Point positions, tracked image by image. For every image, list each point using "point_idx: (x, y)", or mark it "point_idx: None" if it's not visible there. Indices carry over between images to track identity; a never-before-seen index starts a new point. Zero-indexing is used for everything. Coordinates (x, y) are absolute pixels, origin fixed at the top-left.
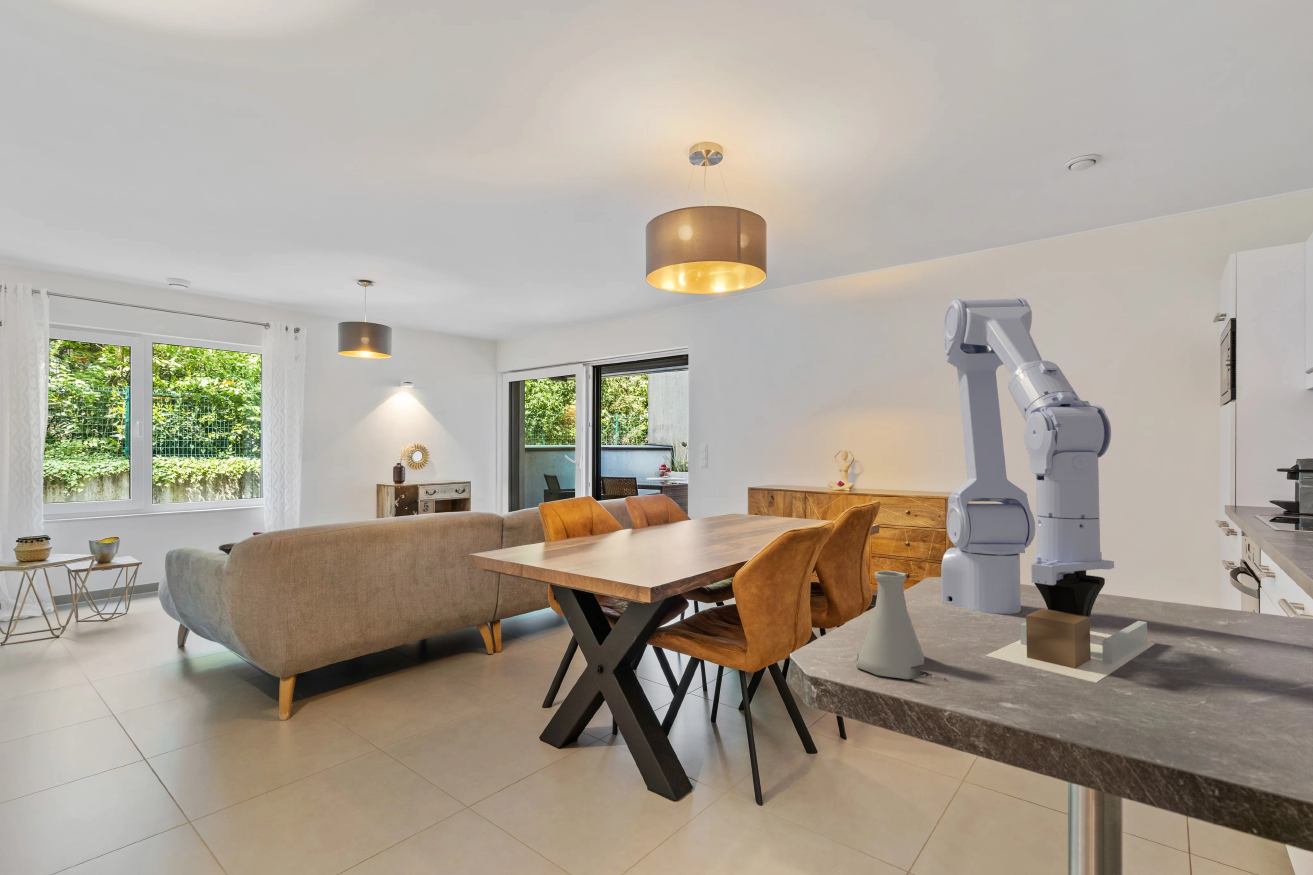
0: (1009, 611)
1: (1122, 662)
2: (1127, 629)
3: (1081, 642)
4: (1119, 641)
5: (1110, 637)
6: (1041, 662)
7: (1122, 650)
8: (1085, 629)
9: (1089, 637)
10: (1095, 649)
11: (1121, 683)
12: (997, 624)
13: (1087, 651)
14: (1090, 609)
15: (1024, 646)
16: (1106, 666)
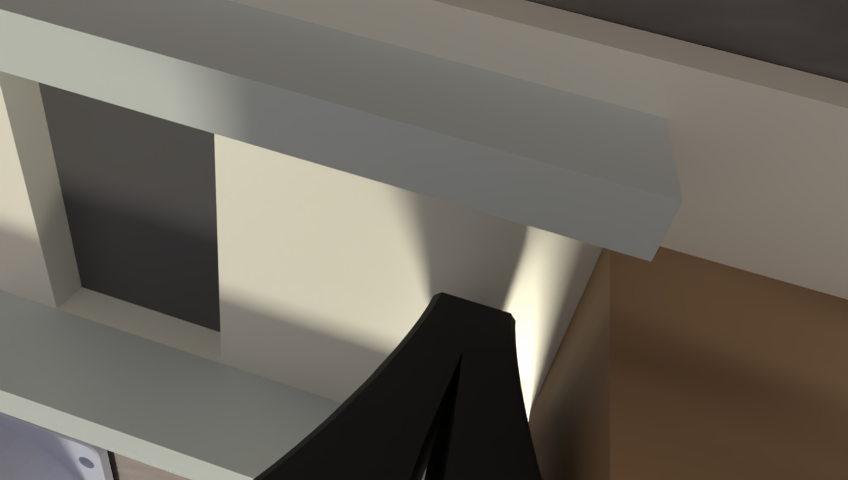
0: (12, 464)
1: (562, 54)
2: (91, 71)
3: (823, 394)
4: (467, 124)
5: (491, 200)
6: None
7: (417, 71)
8: (732, 436)
9: (621, 337)
10: (338, 197)
11: (807, 34)
12: (113, 458)
13: (673, 288)
14: (351, 467)
15: None
16: (749, 152)
